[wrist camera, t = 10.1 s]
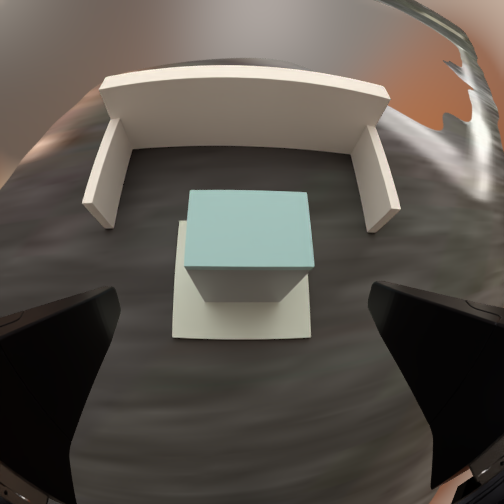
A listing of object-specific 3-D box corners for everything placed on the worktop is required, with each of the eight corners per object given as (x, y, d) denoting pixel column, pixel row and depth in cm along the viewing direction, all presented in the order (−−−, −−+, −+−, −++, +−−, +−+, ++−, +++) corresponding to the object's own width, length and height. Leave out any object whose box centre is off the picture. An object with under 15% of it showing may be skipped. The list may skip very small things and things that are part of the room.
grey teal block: (279, 301, 22) (314, 266, 13) (204, 301, 22) (183, 266, 12) (277, 254, 24) (306, 192, 14) (206, 254, 23) (190, 190, 14)
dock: (375, 232, 26) (426, 184, 17) (104, 228, 24) (59, 176, 15) (354, 142, 29) (383, 86, 21) (128, 136, 28) (106, 77, 19)
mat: (309, 337, 22) (310, 337, 21) (173, 337, 21) (172, 337, 21) (302, 224, 25) (303, 222, 25) (180, 222, 24) (179, 220, 24)
